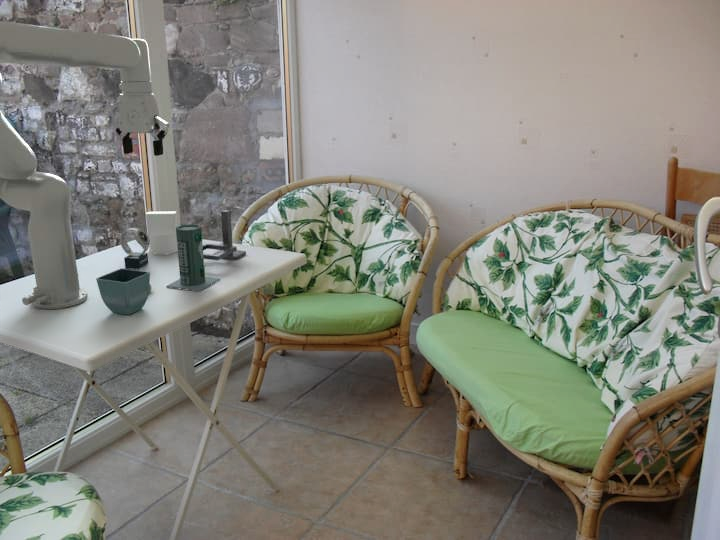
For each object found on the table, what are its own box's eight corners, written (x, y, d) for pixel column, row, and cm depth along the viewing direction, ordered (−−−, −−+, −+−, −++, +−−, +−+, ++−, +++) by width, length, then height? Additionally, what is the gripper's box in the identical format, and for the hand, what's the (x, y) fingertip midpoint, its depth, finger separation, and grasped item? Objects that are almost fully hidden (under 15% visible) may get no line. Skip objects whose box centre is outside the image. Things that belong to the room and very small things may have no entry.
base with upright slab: (182, 246, 210) (179, 209, 206) (176, 254, 201) (173, 215, 197) (153, 246, 209) (149, 209, 205) (146, 254, 201) (142, 216, 197)
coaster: (199, 291, 169) (199, 290, 169) (166, 287, 172) (166, 285, 172) (219, 279, 178) (219, 278, 178) (188, 275, 181) (188, 274, 181)
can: (209, 282, 175) (205, 227, 171) (189, 287, 171) (184, 231, 167) (196, 276, 179) (192, 223, 175) (176, 282, 175) (171, 227, 171)
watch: (146, 269, 187) (142, 231, 183) (119, 267, 188) (115, 230, 185) (154, 263, 192) (151, 226, 189) (129, 262, 193) (125, 225, 190)
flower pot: (125, 302, 162) (121, 267, 160) (154, 306, 159) (150, 271, 157) (99, 314, 155) (94, 278, 152) (130, 319, 152) (125, 283, 149)
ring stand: (218, 272, 185) (215, 223, 180) (187, 268, 188) (183, 220, 184) (249, 254, 201) (247, 209, 196) (219, 251, 204) (216, 207, 199)
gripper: (100, 88, 172) (107, 154, 178) (156, 90, 167) (162, 157, 172) (119, 87, 179) (126, 150, 184) (173, 88, 173) (179, 153, 179)
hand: (143, 154), depth 178 cm, fingers open, 9 cm apart
